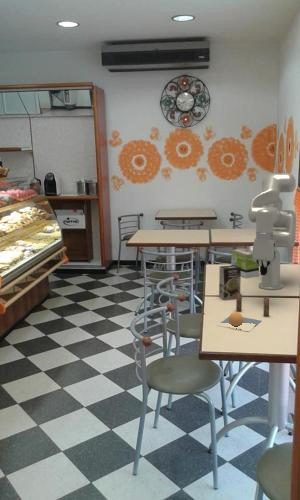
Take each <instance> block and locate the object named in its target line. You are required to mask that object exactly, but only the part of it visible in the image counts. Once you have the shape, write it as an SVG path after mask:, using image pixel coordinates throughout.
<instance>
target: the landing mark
mask: <svg viewBox="0 0 300 500" xmlns="http://www.w3.org/2000/svg"><path fill="white" fill-rule="evenodd" d="M261 322H262V320H259V319H256V318H255V319H254V318H249V317H244V316H243V323H250V324H251V323H253V324H256V326H258V325H259V324H260V323H261ZM220 323H229V324H230V322H229V316H228V317H226V318H225V319H224V320H222V321H221V322H220ZM258 323H259V324H258ZM257 324H258V325H257ZM236 329H237V328H236ZM236 329H235V330H236Z"/></svg>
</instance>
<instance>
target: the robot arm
mask: <svg viewBox="0 0 300 500" xmlns="http://www.w3.org/2000/svg"><path fill="white" fill-rule="evenodd" d="M296 186H297V181H296V177H295V176H294V175H293V174H292V173H290V172H289V173H288V172H287V173H281V172H280V173H278V172H277V173H276V172H275V173H269V174H267V175H266V176H265V177H264V178H263V179H262V181H261V188H262V191H261V193H259V194H257V195H256V196H255V197H253V198H252V200H251V202H250V204H249V208H248V211H247V212H248V214H247V215H248V216H247V217H248V220H249V222H251V223H255V238H254V239H253V244H252V251H253V253H252V256H253V261H254V262H257V263H258V264H259V274H260V276H261V282H259V283H258V288H261V289H262V290H263V289H264V290H271V291H273V290H274V291H276V290H281V289H283V287H284V285H283V283H281V282H280V280H281V253H280V252H279V250H278V249H277V248H289V249H290V248H293V247H294V246H295V244H296V235H297V234H296V232H297V214H296V212H295V211H294V210H293V209H292V210H290V209H283V200H282V199H281V198H280V193H293V192H294V191H295V190H296Z"/></svg>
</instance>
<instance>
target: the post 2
mask: <svg viewBox="0 0 300 500" xmlns="http://www.w3.org/2000/svg"><path fill="white" fill-rule="evenodd" d="M262 315H263V317H266V318H268V317H270V298H269V297H264V298H263V313H262Z"/></svg>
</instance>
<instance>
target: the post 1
mask: <svg viewBox="0 0 300 500" xmlns="http://www.w3.org/2000/svg"><path fill="white" fill-rule="evenodd" d="M242 296H243V293H240V294H236V299H235V301H236V302H235V306H236V308H235V311H236V312H238V313H241V312H242V311H243V309H242V307H243V305H242V304H243V303H242V302H243V301H242V300H243V297H242Z"/></svg>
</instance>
